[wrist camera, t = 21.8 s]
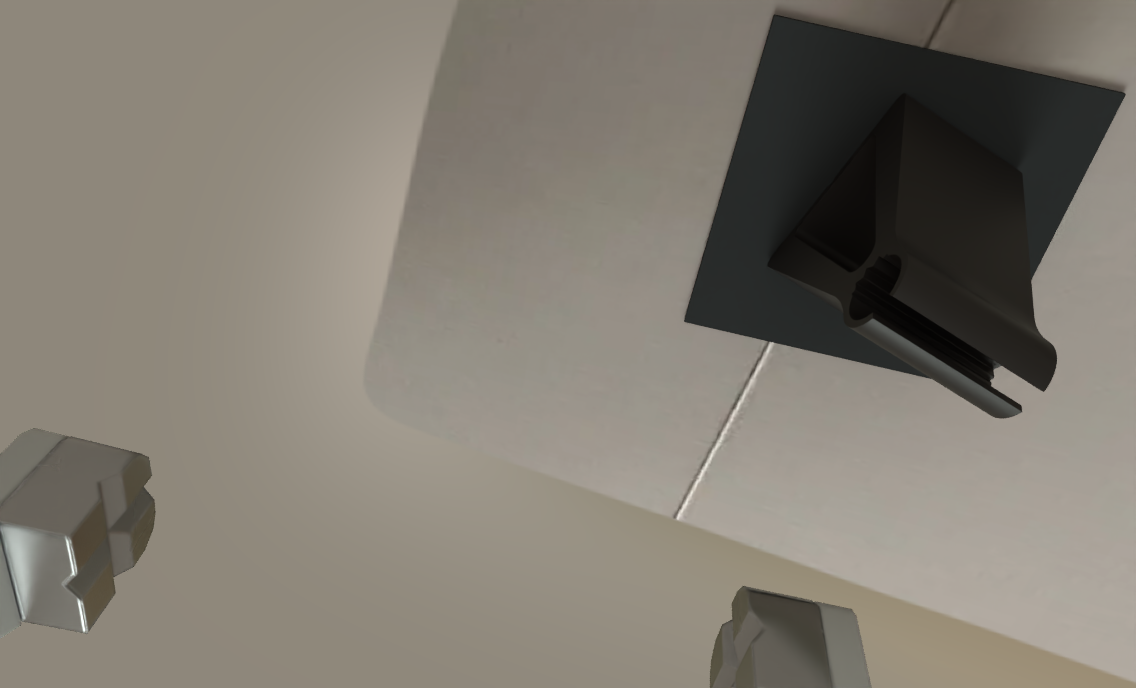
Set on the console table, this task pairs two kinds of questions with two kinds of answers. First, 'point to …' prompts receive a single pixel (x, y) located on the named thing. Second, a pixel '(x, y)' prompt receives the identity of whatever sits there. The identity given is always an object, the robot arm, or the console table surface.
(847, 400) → the console table surface
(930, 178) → the phone stand
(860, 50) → the mat
